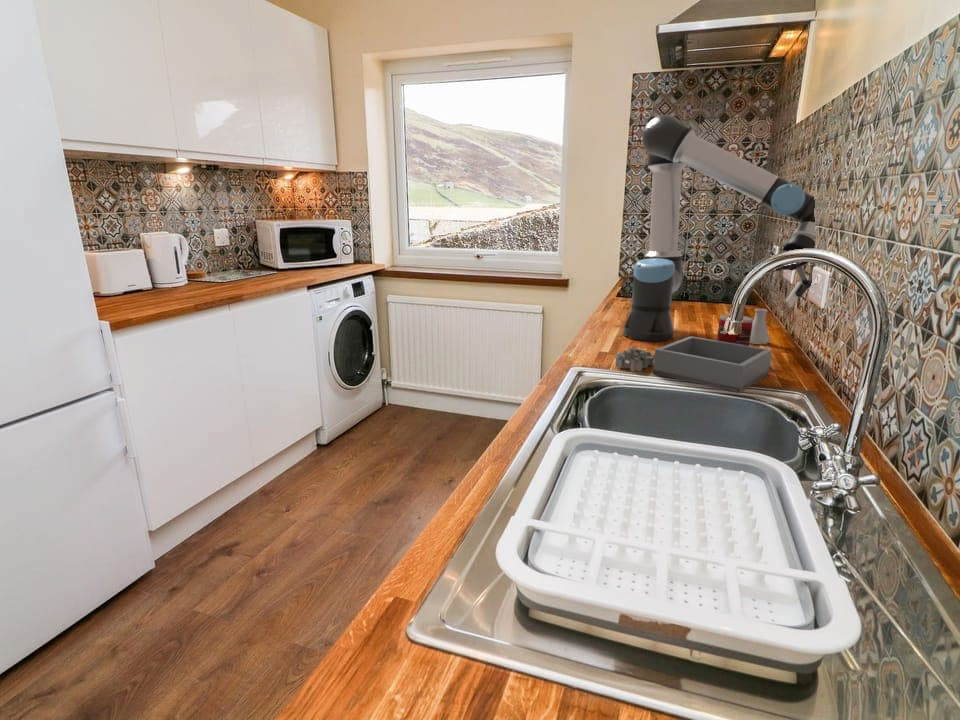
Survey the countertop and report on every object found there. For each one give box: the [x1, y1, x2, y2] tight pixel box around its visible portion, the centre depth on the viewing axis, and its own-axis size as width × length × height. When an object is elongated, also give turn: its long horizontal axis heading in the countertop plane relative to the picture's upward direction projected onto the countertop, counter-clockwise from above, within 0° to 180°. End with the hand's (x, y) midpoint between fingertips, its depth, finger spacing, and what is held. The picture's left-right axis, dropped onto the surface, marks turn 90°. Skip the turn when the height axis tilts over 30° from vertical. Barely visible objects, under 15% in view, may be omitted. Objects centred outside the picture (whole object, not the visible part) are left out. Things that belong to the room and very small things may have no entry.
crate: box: [652, 335, 773, 393], centre depth 130 cm, size 20×20×6 cm
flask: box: [750, 308, 772, 345], centre depth 162 cm, size 7×7×10 cm
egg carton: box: [614, 346, 655, 372], centre depth 137 cm, size 11×8×4 cm
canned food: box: [716, 314, 754, 346], centre depth 144 cm, size 8×8×11 cm
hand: (763, 300), depth 147 cm, fingers open, 13 cm apart
